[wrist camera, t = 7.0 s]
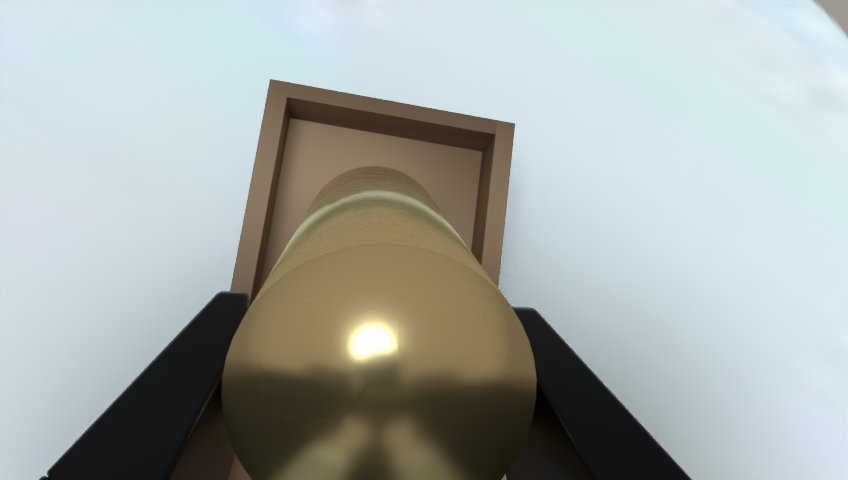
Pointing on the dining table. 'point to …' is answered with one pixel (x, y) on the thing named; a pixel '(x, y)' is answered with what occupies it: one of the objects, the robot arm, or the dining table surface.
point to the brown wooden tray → (369, 146)
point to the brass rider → (378, 348)
